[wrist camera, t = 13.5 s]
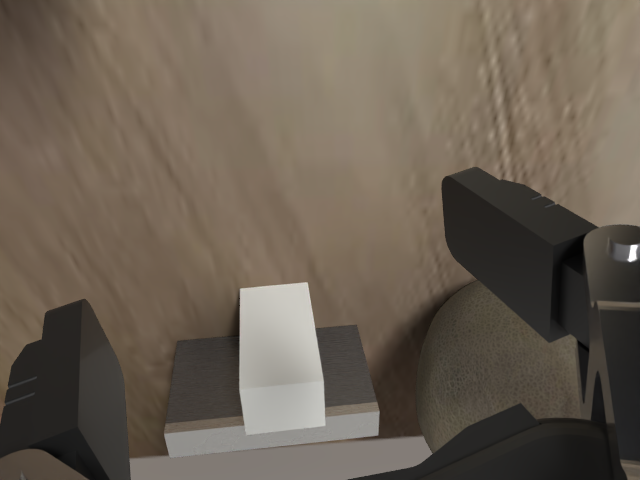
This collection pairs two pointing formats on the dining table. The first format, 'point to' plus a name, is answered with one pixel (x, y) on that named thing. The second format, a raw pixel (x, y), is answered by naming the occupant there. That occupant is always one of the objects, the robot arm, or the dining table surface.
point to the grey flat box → (225, 403)
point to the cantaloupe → (489, 367)
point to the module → (279, 360)
